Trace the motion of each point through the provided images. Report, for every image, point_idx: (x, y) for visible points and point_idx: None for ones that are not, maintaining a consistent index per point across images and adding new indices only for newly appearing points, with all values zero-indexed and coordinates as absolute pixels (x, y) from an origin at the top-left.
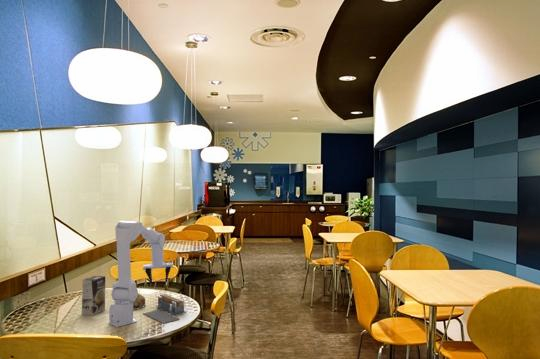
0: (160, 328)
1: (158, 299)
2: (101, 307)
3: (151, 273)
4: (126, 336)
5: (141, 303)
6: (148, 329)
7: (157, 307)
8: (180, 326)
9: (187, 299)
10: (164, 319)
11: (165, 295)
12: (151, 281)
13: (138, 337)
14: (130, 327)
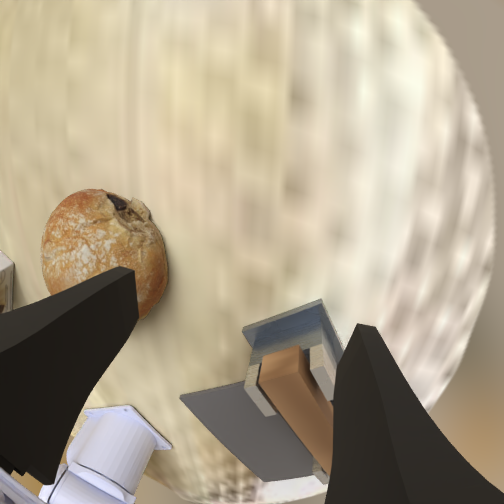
0: (252, 491)
1: (250, 375)
2: (2, 292)
3: (39, 331)
4: (168, 487)
5: (143, 317)
6: (217, 485)
7: (251, 343)
8: (311, 495)
9: (478, 219)
10: (270, 467)
11: (299, 407)
12: (126, 338)
13: (197, 498)
14: (162, 461)
